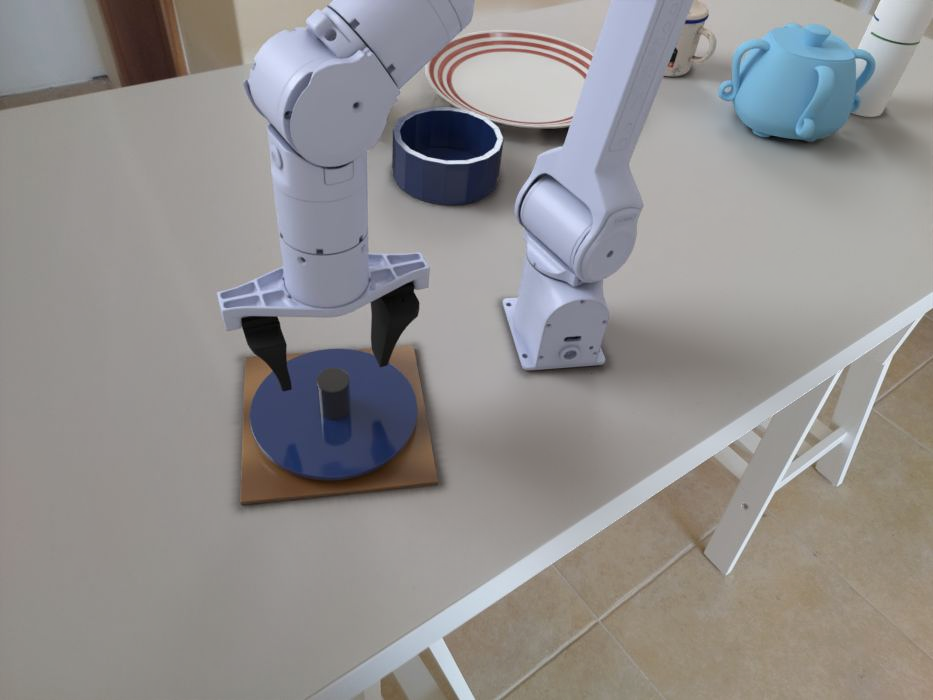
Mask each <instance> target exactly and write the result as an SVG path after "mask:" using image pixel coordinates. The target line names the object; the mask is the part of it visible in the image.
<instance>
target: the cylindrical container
mask: <svg viewBox="0 0 933 700" xmlns="http://www.w3.org/2000/svg"><path fill="white" fill-rule="evenodd" d="M932 20H933V0H880V1H879V2H878V4H877V7H876V9H875V11H874V14H873V15H872V17H871V19H870V22H869V24H868V25H867V28H866V30H865V32H864V34H863V36H862V38H861V41H860V43H859V45H858V46H857V49H862V50H865V51H867V52H869V53H870V54H871V55H872V56H873V58H874V60H875V64H876V66H875V71H874V73H873V75H872V76H871V78H870V79H869V80H868V82H867V83H866V84H865V85H864V86H863V87H862V88H861V90H860V91H859V92H858V93H857V95H859V96H860V98H861V104H860V107H859V108H858V109H857V110H856V111H855V112H852V113H851V114H852V115H856V116H860V117H864V118H865V117H867V118H875V117H879V116H881V115H882V114H883V112H884V110H885V109H886V107H887V105H888V103H889V101H890V99H891V98H892V95H893V93H894V91H895V90H896V88H897V86H898V84H899V82H900V81H901V79H902V76H903V74H904V73H905V71H906V69H907V67H908V65H909V64H910V61H911V59H912V58H913V56H914V54H915V53H916V50H917V48H918V46H919V44H920V43H921V41H922V38H923V37H924V35H925V33H926V31H927V29H928V28H929V25H930V23H931V22H932ZM855 60H856V79H857V78H858V77H859V76H860V75H861V73H862V72H863V70H864V69H865V67H866V64H867V62H866V61H865V60H863V59H855ZM853 102H854V101H853Z"/></svg>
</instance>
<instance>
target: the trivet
mask: <svg viewBox="0 0 933 700" xmlns="http://www.w3.org/2000/svg"><path fill="white" fill-rule="evenodd" d="M354 350H358V351H363V352H366V353H370V354H372V355H374V353H373V351H372V347H370V348H356V349H354ZM306 353H307V352H298V353H286V357H287V361H289V360H291V359H293V358H295V357H297V356H300V355H303V354H306ZM244 359H245V360H244V382H243V383H244V385H243V386H244V388H243V409H242V410H243V415H242V436H241V437H242V439H241V441H242V442H241V463H240V464H241V466H240V467H241V468H240V493H239V494H240V495H239V498H240V499H239V504H240V505H251V504H261V503H262V504H263V503H271V502H281V501H291V500H299V499H300V500H301V499H309V498H319V497H320V498H321V497H329V496H341V495H350V494H358V493H369V492H377V491H378V492H379V491H388V490H396V489H407V488H416V487H417V488H418V487H426V486H435V485H439V479H438V474H437V473H438V472H437V468H436V467H437V466H436V462H435V457H434V450H433V446H432V441H431V440H432V439H431V434H430V430H429V429H430V428H429V423H428V417H427V411H426V406H425V401H424V395H423V388H422V384H421V383H422V382H421V378H420V373H419V367H418V366H419V365H418V361H417V355H416V350H415V346H414V345H401V346H400V345H399V346H395V347H394V350H393V352H392V354H391V357H390V360H389V363H390V364H392V365H393V366H395V367H396V368H397V369H398V370H399V371H401V373H402V374H403V375H404V376H405V377H406V378H407V380H408V381H409V383H410V384H411V386H412V388H413V390H414V393H415V396H416V400H417V408H418V411H417V422H416V426H415V429H414V432H413V434H412V437H411V438H410V440H409V442H408V443H407V445H406V446H405V447H404V448H403V450H402V451H401V452H400V453H399V454H398V455H397V456H396V457H395V458H394V459H392V460H391V461H390V462H388V463H387V464H385V465H384V466H382V467H380V468H378V469H377V470H375V471H372V472H370V473H367V474H365V475H362V476H358V477H355V478H350V479H344V480H330V481H329V480H315V479H309V478H305V477H301V476H298V475H295V474H292V473H290V472H288V471H285V470H284V469H282V468H280V467H279V466H277V465H275V464H274V463H273V462H272V461H270V460H269V459H268V458H267V457H266V456H265V455H264V454H263V453H262V451H261V450H260V448H259V447H258V445H257V444H256V442H255V439H254V437H253V434H252V430H251V426H250V407H251V403H252V400H253V397H254V395H255V393H256V391H257V389H258V388H259V386H260V384H261V383H262V382H263V381H264V379H265V378H266V377H267V376H268V375H269V374H270V373H271V372H272V369H271V368H270V367H269V366H268V365H267V364H266V363H265V362H264V361H263V360H262V359H261V358H260V357H258V356H257V355H255V356H253V355H252V356H245V358H244Z"/></svg>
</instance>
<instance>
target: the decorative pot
mask: <svg viewBox="0 0 933 700" xmlns="http://www.w3.org/2000/svg"><path fill="white" fill-rule="evenodd" d="M748 51H749V52H748ZM746 52H748V53H747V54H746V56H744V55H745V53H746ZM743 56H744V57H743ZM742 58H743V59H742ZM855 59H863V60H865V61H866V62H867V64H866V67H865V69H864V70H863V72H862V73H861V75H860V76H859V77H858V78H857V79H856V60H855ZM731 60H732V61H731V80H724V81H723V82H722V83H721V84H719V86H718V89H717V95H718V98H720V99H721V100H722V101H724V102H732V105H733V108H734V111H735V112H736V115H737V116H738V118H739V119H740V121H741V122H742V123H743V124H744V125H745V126H747V127H749V128H750V129H751V130H752V133H753V134H754V135H756V136H758V137H760V138H770V137H771V136H773V137H777V138H784V139H791V140H802V141H805V142H815V141H816V140H820V139H824V138H828V137H829V136H831V135H833V134H835V133H836V132H837V131H838V130H840V129H841V128H843V126H845V124H846V123H847V122H848V119H849V117H850V114H852V112H855V111H856V110H857V109H858V108H859V107H860V104H861V98H860V96H859V95H857V93H858V92H859V91H860V90H861V88H862V87H863V86H864V85H865V84H866V83H867V82H868V80H869V79H870V78H871V76H872V75H873V73H874V71H875V66H876V64H875V60H874V58H873V56H872V55H871V54H870V53H869V52H867V51H865V50H862V49H858V48H854V49H852V48H851V47H850V45H849V44H848V43H847V42H846V41H845V40H843V39H842V38H841V37H839V35H835V34H833V33H832V31H831V29H829V27H827V26H825V25H823V24H819V23H808V24H806V25H804V27H803V26H802V25H801V24H800V23H796V22H791V23H787V24H785V25H783V26H782V27H781V26H780V27H776V28H773V29H770V30H769V31H768V32H767V33H766V34H765V35H763V37H761V38H753V39H748V40H746V41H744V42H742V43H740V45H738V46H737V47H736V49H735V50H734V52H733V55H732V59H731ZM728 87H729V89H730V91H725V90H726V89H727V88H728ZM853 101H854V102H853Z"/></svg>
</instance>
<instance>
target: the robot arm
mask: <svg viewBox="0 0 933 700" xmlns="http://www.w3.org/2000/svg"><path fill="white" fill-rule="evenodd" d="M693 1H694V0H610V3H609V6H608V9H607V12H606V15H605V18H604V21H603V24H602V27H601V30H600V33H599V36H598V40H597V43H596V45H595V49H594V52H593V53H594V54H593V57H592V60H591V63H590V67H589V70H588V73H587V76H586V79H585V82H584V85H583V88H582V91H581V94H580V97H579V100H578V103H577V106H576V109H575V112H574V115H573V118H572V121H571V124H570V127H568V131H567V134H566V137H565V140H564V143H563V145H562V146H558V147H554V148H551V149H548V150H546V151H544V152H541V153H540V154H538V155H537V156H536V160H535V164H534V166H533V169H532V171H531V174H530V175H529V177H528V178H527V180H525V182H524V183H523V184H522V186H521V188H520V190H519V192H518V194H517V196H516V199H515V203H514V208H513V209H514V212H513V213H514V217H515V220H516V222H517V224H519V225H520V226H521V227H522V228H524V230H523V236H522V240H523V242H524V243H525V245H526V249H525V256H524V260H523V266H522V271H521V275H520V276H521V277H520V282H519V288H518V292H517V297H505V298H503V299H502V307H503V310H504V314H505V316H506V320H507V322H508V326H509V330H510V333H511V336H512V339H513V342H514V346H515V349H516V353H517V356H518V359H519V363H520V365H521V368H522V369H523V370H525V371H538V370H539V371H540V370H552V369H565V368H578V367H579V368H580V367H593V366H602V365H604V364H605V363H606V361H607V360H606V359H607V358H606V357H605V354H604V352H603V349H602V344H603V341H604V339H605V334H606V331H607V329H608V325H609V323H610V322H609V321H610V310H609V307H608V303H607V301H606V297H605V295H604V293H605V292H604V280H605V279H607V278H609V277H611V276H612V275H614V274H615V273H616V272H617V271H619V270H620V269H621V268H622V267H623V266H624V265H625V263H626V262H628V259H629V258H630V256H631V254H632V252H633V251H634V248H635V245H636V240H637V235H638V231H637V230H638V221H639V218H640V215H641V213H642V211H643V208H644V206H645V205H644V201H643V198H642V196H641V193H640V189H639V187H638V185H637V184H636V180H635V178H634V176H633V173H632V170H631V167H630V163H631V159H632V157H633V154H634V152H635V149H636V146H637V144H638V142H639V139H640V138H641V133H643V129H644V127H645V125H646V122H647V120H648V117H649V114H650V112H651V109H652V106H653V105H654V102H655V99H656V97H657V93H658V91H659V89H660V87H661V84H662V81H663V79H664V77H665V76H664V74H665V71H666V69H667V66H668V64H669V61H670V59H671V56H672V54H673V51H674V49H675V46H676V44H677V41H678V39H679V36H680V34H681V31H682V29H683V26H684V24H685V21H686V19H687V16H688V14H689V11H690V9H691V6H692V3H693ZM475 2H476V1H475V0H332V1H330V3H328V4H327V5H326V6H325V7H324V8H323V9H322V10H320V9H319V8H317V9H316V10H314V12H313V13H312V14H310V15H309V16H308V17H307V18H306V20H305V23H306V26H296V27H292V28H293V29H292V30H288V29H287V28H286V29H283V30H281V31H279V32H277V33H275V34H274V35H273V36H271V37H270V38H269V39H267V40H266V41H265V42H264V43H263V44H262V45H261V46H260V48H259V50H258V51H257V52H256V54H255V56H254V59H253V60H252V61H253V66H252V67H250V70H249V77H248V78H246V79H244V80H243V82H242V84H243V85H242V86H243V89H244V93H245V95H246V98H247V100H248V101H249V103H250V105H252V107H253V108H254V109H255V110H256V112H258V114H259V115H260V116H262V117H263V118H264V119H265V120H266V121H267V123H268V125H267V126H266V132H267V140H268V141H267V143H268V150H269V158H270V174H271V181H272V191H273V199H274V207H275V216H276V222H277V230H278V239H279V247H280V255H281V261H282V262H281V263H282V266H280V267H278V268H276V269H274V270H271V271H269V272H267V273H265V274H263V275H260V276H258V277H256V278H254V279H252V280H249V281H247V282H245V283H243V284H241V285H238V286H235V287H231V288H229V289H225V290H221V291H217V292H216V297H217V302H218V306H219V311H220V316H221V319H222V322H223V325H224V328H225V332H232V331H236V330H240V329H242V331H243V335H244V338H245V341H246V344H247V346H248V347H249V349H250V351H251V352H252V353H253V355H255V356H258V357H260V358H261V359H262V360H263V361H264V362H265V363H266V364H267V365H268V366H269V367H270V368H271V369H272V371H273V372H274V374H275V375H276V377H277V378H278V380H279V383H280V386H281V389H282V391H288V390H292V385H291V380H290V376H289V372H288V368H287V357H286V354H287V347H288V344H287V342H286V338H285V337H284V336H285V335H284V333H283V330H282V327H281V322H280V320H279V317H282V318H284V317H285V318H323V319H325V318H337V317H343V316H345V315H348V314H351V313H353V312H355V311H356V310H357V311H358V310H359V309H361V308H363V307H364V306H367V305H368V304H370V311H371V324H370V344H371V348H372V351H373V353H374V355H375V358H376V360H377V362H378V364H379V366H380V367H384V366H387V365H388V363H389V360H390V357H391V354H392V352H393V350H394V347H396V345H397V343H398V341H399V339H400V337H401V336H402V335H403V333H404V331H405V330H406V329H407V328H408V326H410V324H411V323H412V322H413V321H415V319H417V318H418V317H419V313H420V300H419V298H418V297H417V295H416V293H415V291H420V290H424V289H428V288H429V287H430V272H431V271H430V270H431V267H430V265H429V264H428V262H427V260H426V259H425V257H424V256H423V254H422V252H421V251H416V252H409V253H374V252H372V253H371V252H369V204H368V203H369V200H368V198H369V197H368V193H369V192H368V151H370V150H372V149H373V148H375V146H376V145H377V143H378V142H379V140H380V138H381V137H382V134H383V133H384V131H385V128H386V124H387V122H388V117H389V113H390V111H391V109H392V107H393V106H394V105H395V104H396V103H398V102H399V100H398V97H399V96H400V95H401V89H402V88H403V87H404V86H405V85H406V84H407V83H408V82H409V81H410V80H412V79H413V77H415V76H416V75H417V74H418V73H419V72H420V71H421V70H422V69H423V68H425V65H426V64H427V63H428V62H429V61H430V60H431V59H433V58H434V57H435V56H436V55H437V54H438V53H439V52H440V51H441V50H442V49H443V48H444V47H445V46H446V45H447V44H448V43H449V42H451V41H452V40H453V39H454V38H455V37H457V36H459V34H460V33H462V32H463V31H464V30H465V29H466V28H467V27H468V26H469V25H470V24H471V23H472V20H473V16H474V10H475V9H474V8H475Z"/></svg>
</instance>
